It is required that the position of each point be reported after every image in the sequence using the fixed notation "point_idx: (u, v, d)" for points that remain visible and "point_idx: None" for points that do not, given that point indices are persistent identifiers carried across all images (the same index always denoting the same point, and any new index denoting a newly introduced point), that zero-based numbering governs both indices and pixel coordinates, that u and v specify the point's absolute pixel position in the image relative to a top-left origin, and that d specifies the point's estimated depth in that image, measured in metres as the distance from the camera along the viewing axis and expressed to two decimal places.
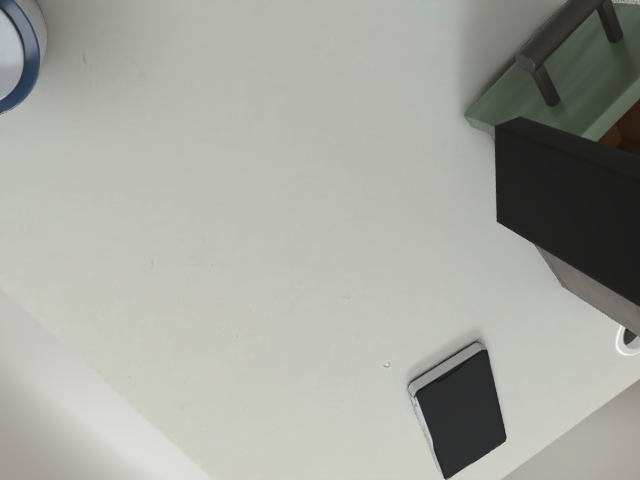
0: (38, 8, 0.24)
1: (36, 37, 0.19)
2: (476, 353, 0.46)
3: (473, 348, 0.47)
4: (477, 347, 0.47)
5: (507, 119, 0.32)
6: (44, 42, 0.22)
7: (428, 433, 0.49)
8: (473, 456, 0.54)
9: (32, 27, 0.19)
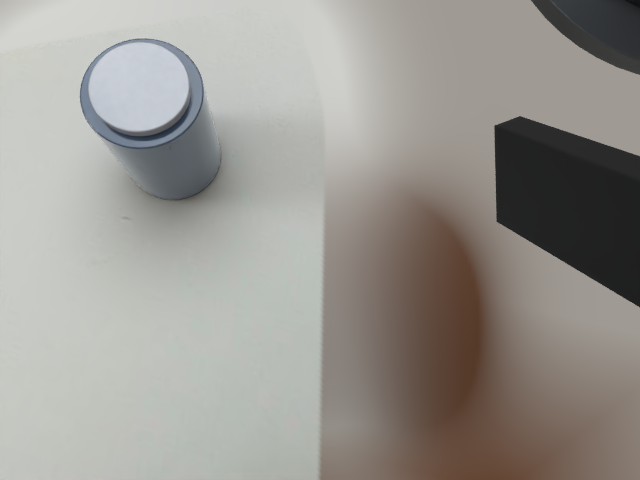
0: (175, 197, 0.28)
1: (131, 148, 0.21)
2: None
3: None
4: None
5: None
6: (140, 177, 0.25)
7: None
8: None
9: (140, 148, 0.21)
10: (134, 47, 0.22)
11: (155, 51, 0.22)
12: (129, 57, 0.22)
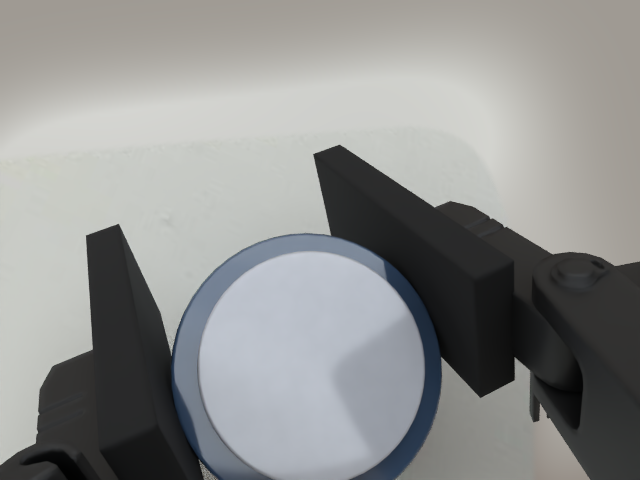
0: None
1: None
2: None
3: None
4: None
5: None
6: None
7: None
8: None
9: None
10: (307, 263, 0.10)
11: (353, 277, 0.10)
12: (295, 287, 0.09)
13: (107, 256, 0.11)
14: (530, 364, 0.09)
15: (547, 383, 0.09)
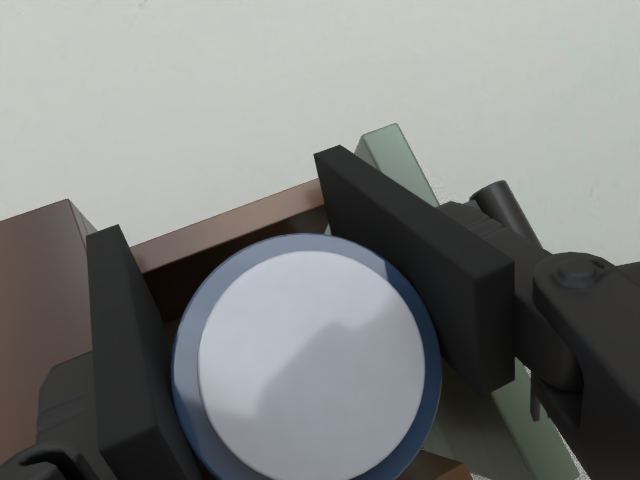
0: None
1: None
2: None
3: None
4: None
5: None
6: None
7: None
8: None
9: None
10: (307, 263, 0.10)
11: (353, 277, 0.10)
12: (295, 287, 0.09)
13: (106, 256, 0.11)
14: (531, 364, 0.09)
15: (548, 383, 0.09)
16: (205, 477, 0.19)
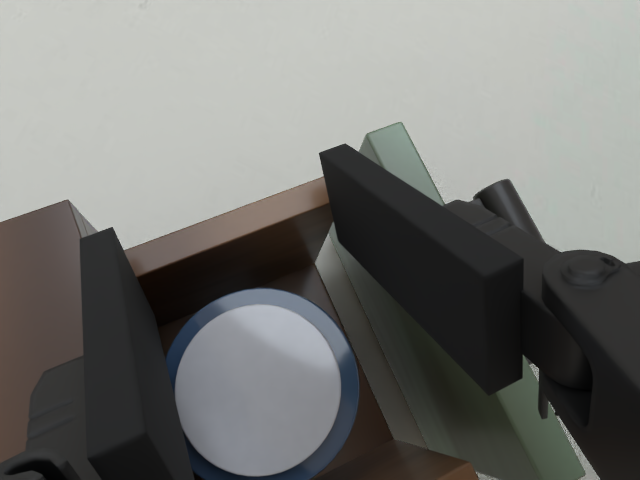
0: None
1: None
2: None
3: None
4: None
5: None
6: None
7: None
8: None
9: None
10: (254, 314, 0.13)
11: (288, 323, 0.13)
12: (245, 332, 0.13)
13: (100, 260, 0.11)
14: (539, 361, 0.09)
15: (556, 381, 0.09)
16: None
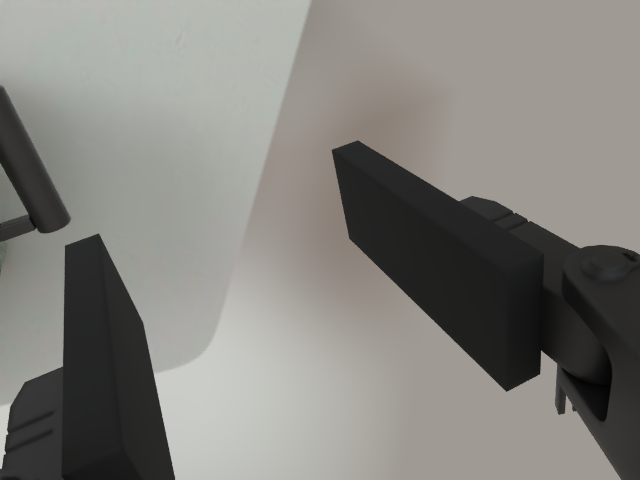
0: None
1: None
2: None
3: None
4: None
5: None
6: None
7: None
8: None
9: None
10: None
11: None
12: None
13: (84, 267, 0.11)
14: (557, 356, 0.09)
15: (574, 376, 0.09)
16: None
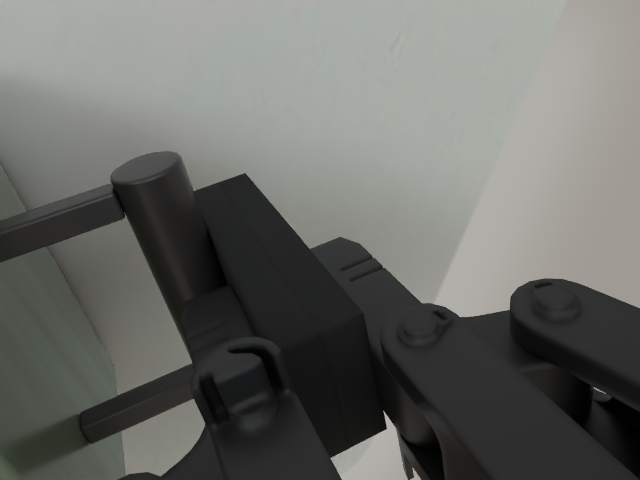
0: None
1: None
2: None
3: None
4: None
5: None
6: None
7: None
8: None
9: None
10: None
11: None
12: None
13: (217, 208, 0.12)
14: (394, 425, 0.08)
15: (413, 442, 0.08)
16: None
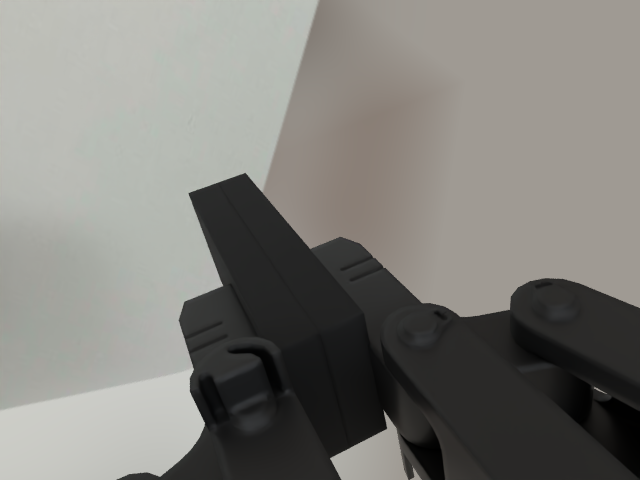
0: None
1: None
2: None
3: None
4: None
5: None
6: None
7: None
8: None
9: None
10: None
11: None
12: None
13: (217, 208, 0.12)
14: (394, 424, 0.08)
15: (413, 442, 0.08)
16: None
